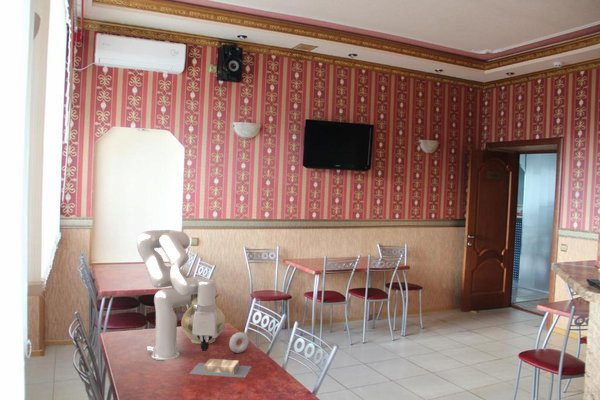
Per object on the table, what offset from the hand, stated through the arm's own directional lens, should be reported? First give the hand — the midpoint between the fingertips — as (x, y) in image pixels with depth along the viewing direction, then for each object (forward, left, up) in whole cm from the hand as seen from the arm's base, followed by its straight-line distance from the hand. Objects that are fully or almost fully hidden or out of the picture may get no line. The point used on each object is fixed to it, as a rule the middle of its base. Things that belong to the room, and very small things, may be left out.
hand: (204, 350), depth 223 cm
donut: (+9, +26, -9) cm, 29 cm away
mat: (+7, 0, -8) cm, 11 cm away
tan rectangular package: (+1, 0, -6) cm, 7 cm away
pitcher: (-14, +42, -9) cm, 45 cm away
